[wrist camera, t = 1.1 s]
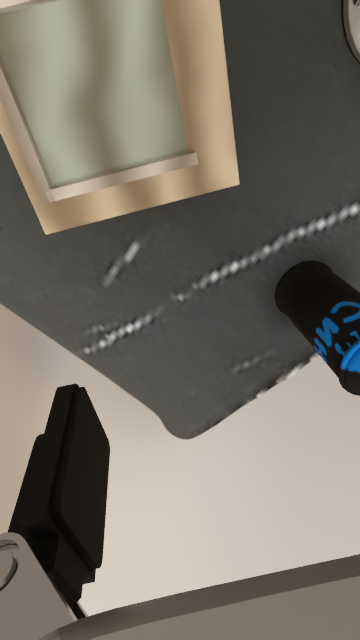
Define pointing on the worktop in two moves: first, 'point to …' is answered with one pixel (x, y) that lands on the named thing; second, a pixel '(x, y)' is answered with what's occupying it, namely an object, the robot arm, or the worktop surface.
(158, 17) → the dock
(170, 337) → the worktop surface
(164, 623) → the robot arm
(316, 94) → the worktop surface
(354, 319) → the aerosol can
